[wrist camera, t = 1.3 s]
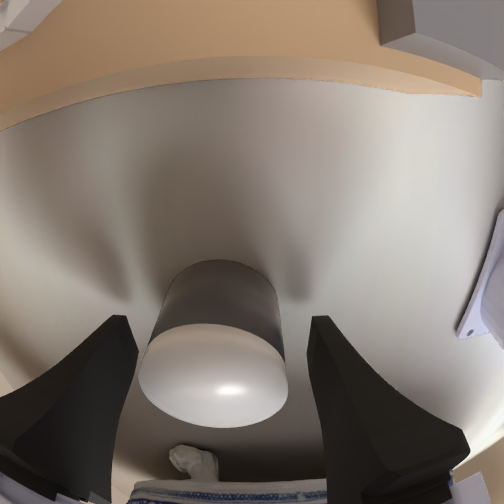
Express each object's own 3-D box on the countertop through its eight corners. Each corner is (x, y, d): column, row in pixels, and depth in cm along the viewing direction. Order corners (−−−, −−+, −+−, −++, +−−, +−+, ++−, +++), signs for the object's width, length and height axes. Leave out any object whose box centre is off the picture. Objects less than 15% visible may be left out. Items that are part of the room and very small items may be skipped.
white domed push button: (280, 258, 11) (294, 342, 7) (276, 346, 13) (283, 427, 9) (158, 259, 11) (118, 338, 7) (177, 345, 13) (158, 422, 9)
